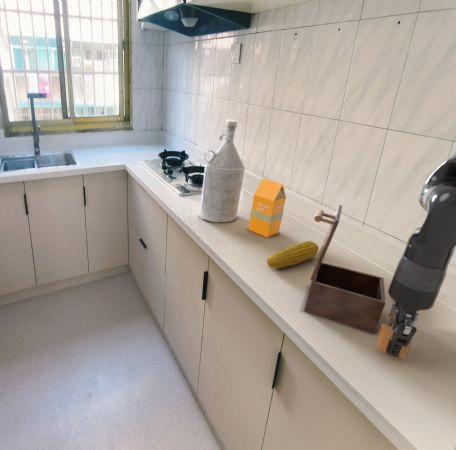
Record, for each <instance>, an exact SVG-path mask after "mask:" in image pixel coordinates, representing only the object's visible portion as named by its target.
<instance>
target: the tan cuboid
mask: <svg viewBox="0 0 456 450" xmlns="http://www.w3.org/2000/svg"><path fill="white" fill-rule="evenodd" d="M392 330H393V329H392V328H391V327H390V326H389V325H386V324H384V323H383V324H381V326H380V329H379V332H378V334H377V338H376V343H377V344H376V346H377V350H379V351H382V352H385V353H386V348H387V345H388V343H389V340H390V335H391V333H392ZM411 345H412V340H411V341H410V342H409V344H408V346H407V347H404V346H402V348H401V350H400V353H399V355H398V356H397V357H400V358H403V359H406V357H407V355H408V352H409V350H410V348H411Z"/></svg>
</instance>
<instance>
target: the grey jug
mask: <svg viewBox="0 0 456 450" xmlns="http://www.w3.org/2000/svg"><path fill="white" fill-rule="evenodd" d="M237 123H238V120H235V119H232V118H227V119H226V125H225V127H224V128H226V131H225V129H224V128H223V129H221V134H220V135H219V137H218V139H219V141H222V140H223V138H224V136H225V140H224V141H223V142H222V143H221V145H220V146H219V148H217V150H216V151H215V152H214V150H211V149H208V150H207V151H205V152H204V154H203V156H204V157H203V160H205V162H206V163H205V164H204V171H203V179H202V189H201V199H200V209H199V214H198V215H199V217H200V218H201V219H202V220H205V221H208V222H213V223H228V222H232V221H235V220H236V219H237V215H238V210H239V209H238V208H239V204H240V197H241V191H242V186H243V181H244V176H245V175H244V174H245V170H246V167H245V165H244V162H243V161H242V159H241V156H240V154H239V152H238V150H237V148H236V146H235V144H234V138H235V133H236V129H237V127H238V124H237ZM223 133H225V134H223ZM209 153H212V156H211V157H210V159H209V160H206V159H207V155H208V154H209Z"/></svg>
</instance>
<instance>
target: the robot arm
mask: <svg viewBox="0 0 456 450" xmlns="http://www.w3.org/2000/svg"><path fill="white" fill-rule="evenodd" d="M417 198H418V204H419V205H420V207H421V209H423V210H424V211H425V212H426V216H425V219H424V221H423V223H422V225H421V226H419V227H416V228H415V229H413V230H412V231H411V232H410V234H409V236H408V238H407V242H406V244H405V247H404V250H403V253H402V255H401V257H400V259H399V261H398V263H397V265H396V267H395V271H394V273H393V276H392V279H391V281H390V284H389V288H388V291H387V293H388V296H389V297H390V298H391V299H392V300H393V302H392V305H391V308H390V312H389V314H388V316H389V320H388V326H390V327H391V328H392V329H393V330H392V333H391V335H390V340H389V343H388V345H387V348H386V352H385V353H386V354H387V355H390V356H393V357H399V356H398V355H399V353H400V350H401V348H402V346H404V347H407V346H408V344H409V342H410V341H411V342H412V339H413V337H414V336H415V334H416V333H417V331H418V329H417V327H415V324H416V323H417V322H418V320H419V317H420V314H419V313H418V311H427V310H431V309H432V308H433V307H434V305H435V302H436V300H437V298H438V295H439V293H440V291H441V288H442V286H443V283H444V282H445V279H446V276H447V271H448V269H449V265H450V263H451V260H452V259H453V256H454V254H455V250H456V149H455V150H454V152H453V153H452V154H451V155H450V156H448V157H447V158H446V159H445V160H444V161H443V162H442V163H440V165H439V166H437V168H436V169H435V170H434V171H433V172H432V173H431V174H430V175H429V176H428V177H427V179H426V180H425V181H424V182H423V184H422V185H421V187H420V190H419V192H418V197H417Z"/></svg>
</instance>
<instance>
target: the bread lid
mask: <svg viewBox="0 0 456 450" xmlns="http://www.w3.org/2000/svg"><path fill="white" fill-rule="evenodd" d="M342 209H343V204H338V206H337V209H336V211H335V213H334V215H333V214H330V213H327V212H325V211H324V210H323V209H317V210H316V212H315V216H314V218H313V219H314V222H316V223H320V222H323V223H326V224H328V225H330V226H329V228H328V230H327V232H326V235H325V237H324V240H323V241H322V244H321V247H320V249H319V251H318V253H317V255H316V256H317V257H316V259H315V262H314V265H313V269H312V272H311V276H310V281H312V280H313V281H314V279H315V277H316V274H317V272H318V270H319V267H320V265H321V263H322V262H323V260H324V258H325V256H326V253H327V251H328V249H329V246H330V244H331V242H332V240H333V237H334V235H335V232H336V230H337V228H338V225H339V223H340V219H341V215H342Z"/></svg>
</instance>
